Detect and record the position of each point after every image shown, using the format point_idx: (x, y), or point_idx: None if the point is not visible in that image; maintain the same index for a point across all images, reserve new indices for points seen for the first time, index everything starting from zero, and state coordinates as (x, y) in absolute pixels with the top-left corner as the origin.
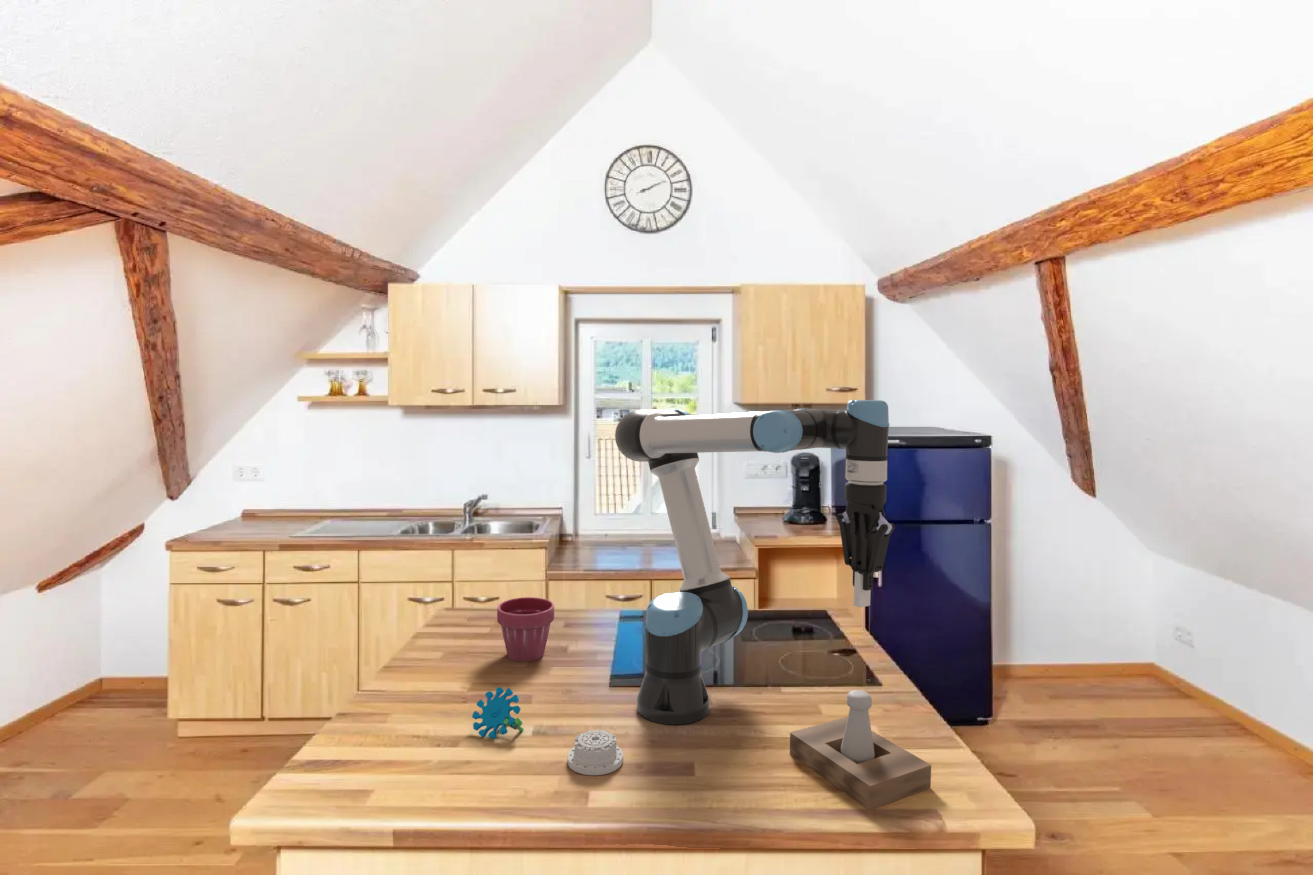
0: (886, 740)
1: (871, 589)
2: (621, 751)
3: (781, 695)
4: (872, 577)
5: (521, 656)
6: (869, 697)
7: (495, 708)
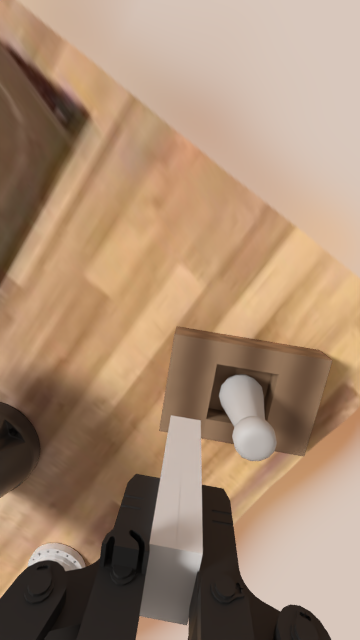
0: (255, 350)
1: (223, 493)
2: (63, 552)
3: (32, 298)
4: (234, 556)
5: None
6: (273, 439)
7: None
